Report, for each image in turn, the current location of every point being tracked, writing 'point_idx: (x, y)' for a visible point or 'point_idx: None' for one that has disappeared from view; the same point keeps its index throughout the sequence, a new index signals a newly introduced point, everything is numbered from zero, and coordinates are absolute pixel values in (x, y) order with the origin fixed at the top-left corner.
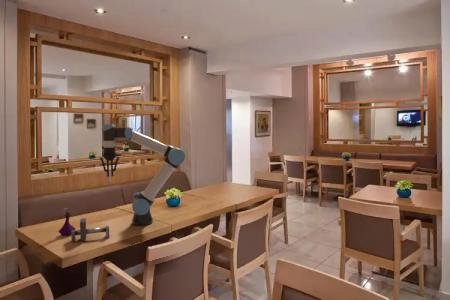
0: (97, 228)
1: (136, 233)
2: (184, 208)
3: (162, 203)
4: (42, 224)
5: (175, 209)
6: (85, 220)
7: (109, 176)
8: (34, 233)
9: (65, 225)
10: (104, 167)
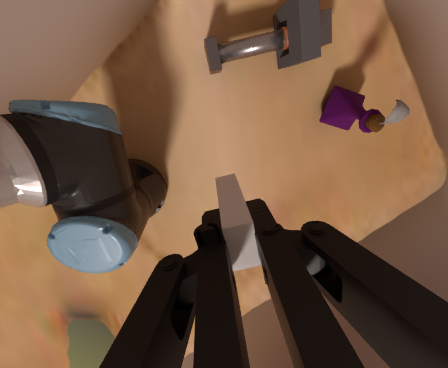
0: (246, 42)
1: (124, 78)
2: (45, 304)
3: None
4: (398, 210)
5: (70, 297)
6: (299, 19)
7: (238, 195)
8: (415, 137)
9: (356, 101)
10: (361, 265)
